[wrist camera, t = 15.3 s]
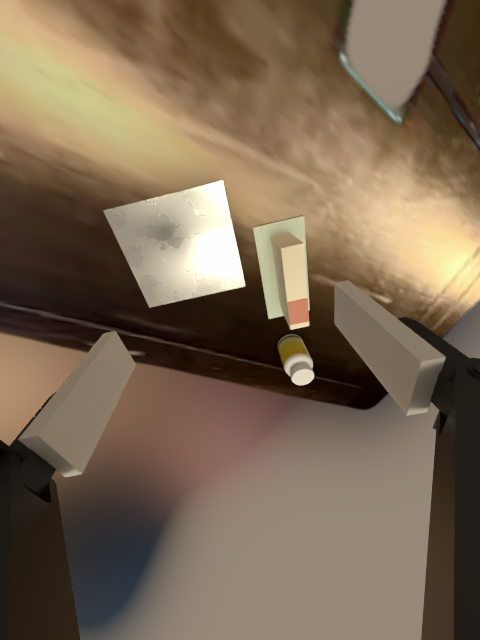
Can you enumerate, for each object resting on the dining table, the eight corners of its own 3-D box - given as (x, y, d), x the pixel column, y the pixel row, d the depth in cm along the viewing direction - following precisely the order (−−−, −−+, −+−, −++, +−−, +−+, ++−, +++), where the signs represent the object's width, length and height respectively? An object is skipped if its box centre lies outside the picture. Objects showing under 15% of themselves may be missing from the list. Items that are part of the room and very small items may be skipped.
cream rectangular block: (270, 236, 36) (281, 248, 29) (288, 231, 36) (304, 243, 29) (280, 306, 43) (290, 330, 36) (295, 303, 43) (309, 326, 36)
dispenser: (143, 201, 33) (103, 210, 22) (223, 181, 33) (222, 180, 22) (172, 275, 39) (151, 311, 28) (240, 259, 39) (246, 290, 28)
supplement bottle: (271, 343, 48) (281, 377, 40) (292, 328, 47) (307, 360, 38) (287, 357, 50) (299, 392, 42) (307, 343, 49) (324, 377, 40)
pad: (252, 227, 36) (253, 227, 36) (303, 215, 36) (303, 215, 35) (268, 317, 45) (268, 318, 44) (308, 309, 44) (309, 310, 44)
